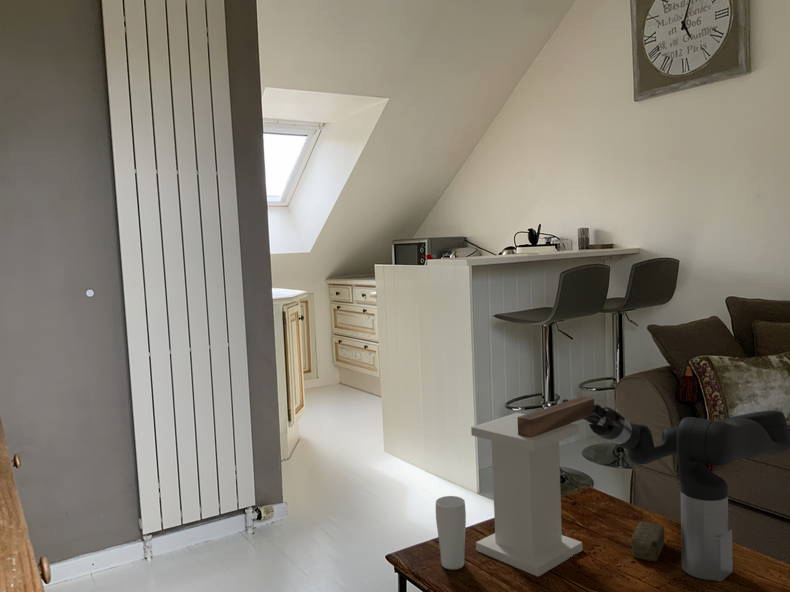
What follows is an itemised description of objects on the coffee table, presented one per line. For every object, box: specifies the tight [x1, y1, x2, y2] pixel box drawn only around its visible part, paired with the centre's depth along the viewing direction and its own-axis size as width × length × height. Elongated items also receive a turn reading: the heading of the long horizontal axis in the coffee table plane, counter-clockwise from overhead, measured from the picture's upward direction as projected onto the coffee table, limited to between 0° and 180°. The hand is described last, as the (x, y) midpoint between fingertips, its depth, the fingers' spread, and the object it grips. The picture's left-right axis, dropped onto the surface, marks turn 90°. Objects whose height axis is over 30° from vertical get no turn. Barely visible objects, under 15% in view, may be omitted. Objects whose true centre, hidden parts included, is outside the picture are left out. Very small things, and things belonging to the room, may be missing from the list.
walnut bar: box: [517, 396, 595, 438], centre depth 153 cm, size 4×25×4 cm, turn 131°
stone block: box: [630, 521, 665, 563], centre depth 152 cm, size 6×12×5 cm, turn 150°
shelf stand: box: [470, 412, 583, 578], centre depth 154 cm, size 18×17×30 cm
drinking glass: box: [435, 495, 467, 571], centre depth 149 cm, size 7×7×15 cm
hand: (578, 405), depth 158 cm, fingers open, 8 cm apart
